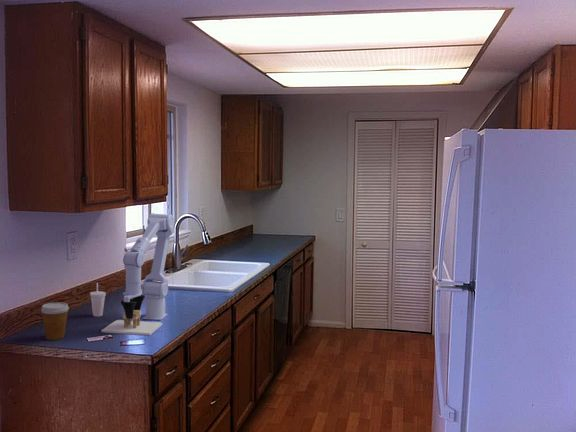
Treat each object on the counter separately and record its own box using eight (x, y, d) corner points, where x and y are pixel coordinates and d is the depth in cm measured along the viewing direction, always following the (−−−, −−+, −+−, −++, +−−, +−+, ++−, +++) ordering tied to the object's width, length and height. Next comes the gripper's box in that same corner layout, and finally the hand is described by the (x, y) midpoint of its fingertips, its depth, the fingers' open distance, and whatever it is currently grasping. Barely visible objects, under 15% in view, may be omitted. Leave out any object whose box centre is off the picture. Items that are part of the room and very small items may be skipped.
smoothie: (100, 312, 241) (100, 280, 239) (108, 315, 237) (109, 283, 235) (86, 315, 236) (87, 282, 234) (95, 318, 232) (95, 285, 230)
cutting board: (117, 321, 228) (117, 319, 228) (162, 324, 226) (162, 322, 226) (101, 332, 213) (101, 330, 213) (149, 335, 211) (149, 333, 211)
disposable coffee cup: (36, 336, 205) (36, 304, 204) (62, 332, 211) (62, 300, 210) (46, 343, 198) (46, 309, 197) (73, 338, 204) (73, 305, 203)
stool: (127, 323, 222) (128, 309, 222) (141, 324, 222) (141, 310, 221) (122, 327, 217) (122, 313, 216) (136, 328, 216) (136, 313, 216)
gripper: (130, 277, 225) (130, 310, 226) (116, 285, 211) (115, 320, 212) (147, 278, 225) (146, 311, 226) (134, 286, 210) (133, 321, 211)
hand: (132, 316), depth 219 cm, fingers open, 7 cm apart
